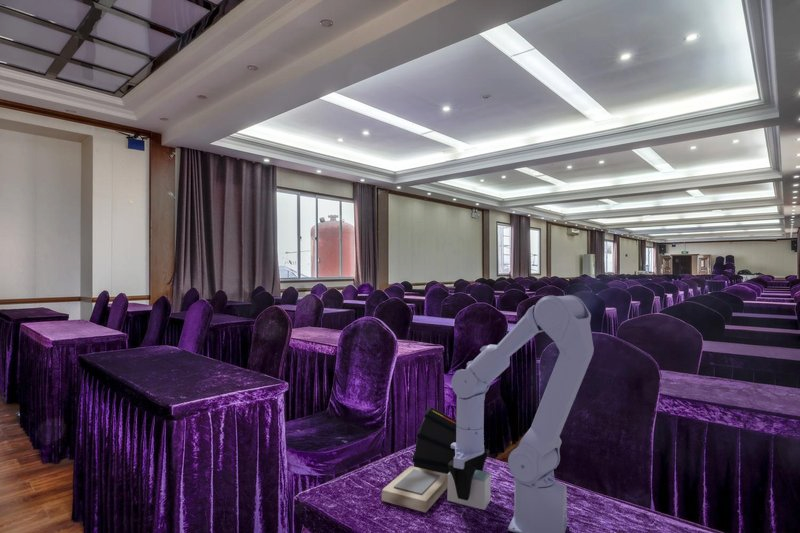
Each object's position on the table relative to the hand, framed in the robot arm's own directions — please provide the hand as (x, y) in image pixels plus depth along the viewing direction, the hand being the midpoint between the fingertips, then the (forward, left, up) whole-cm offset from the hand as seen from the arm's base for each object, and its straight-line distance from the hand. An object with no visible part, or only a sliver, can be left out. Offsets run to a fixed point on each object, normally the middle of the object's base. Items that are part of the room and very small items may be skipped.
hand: (469, 491), depth 94 cm
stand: (+11, +2, -2) cm, 11 cm away
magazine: (+10, -11, -2) cm, 15 cm away
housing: (0, 0, -2) cm, 2 cm away
